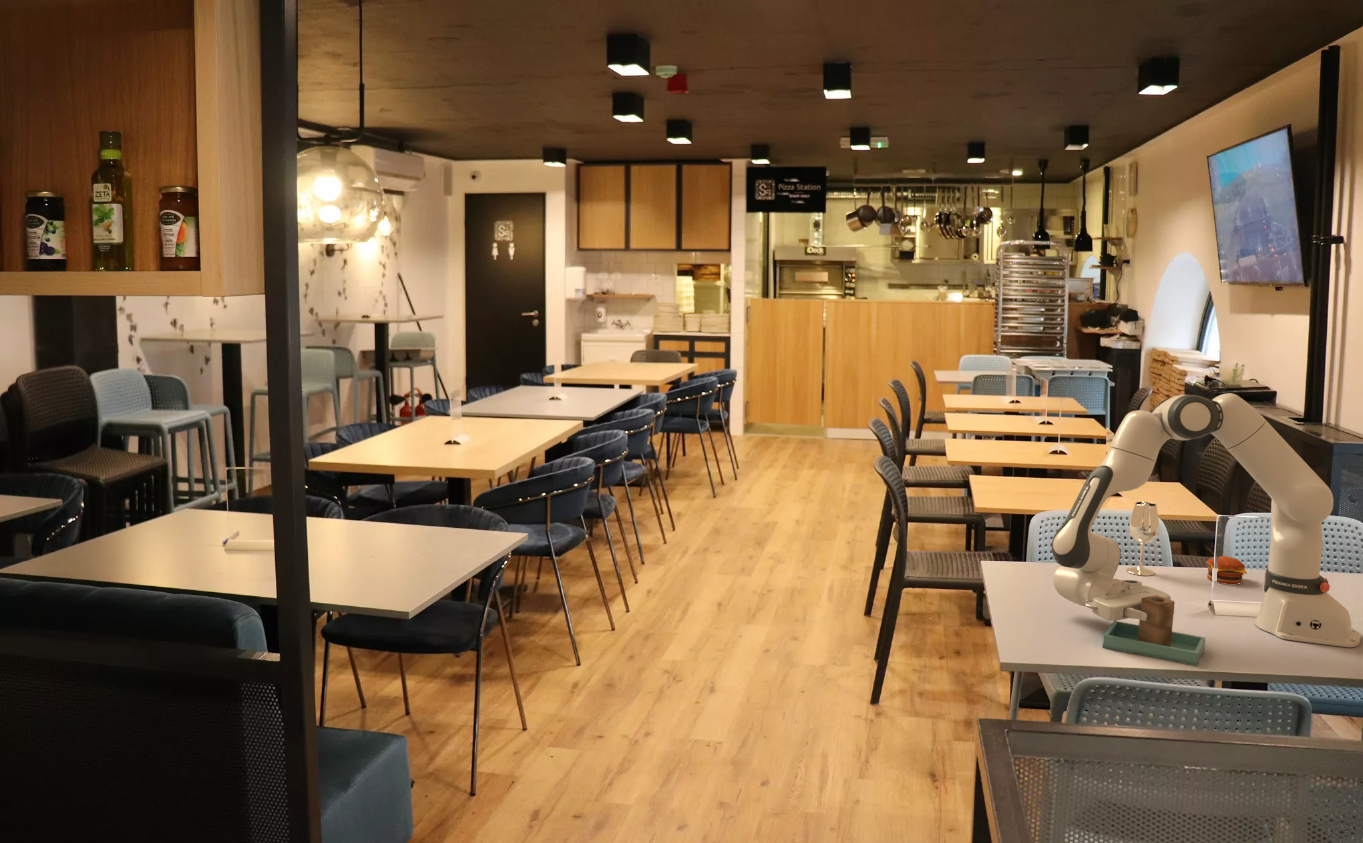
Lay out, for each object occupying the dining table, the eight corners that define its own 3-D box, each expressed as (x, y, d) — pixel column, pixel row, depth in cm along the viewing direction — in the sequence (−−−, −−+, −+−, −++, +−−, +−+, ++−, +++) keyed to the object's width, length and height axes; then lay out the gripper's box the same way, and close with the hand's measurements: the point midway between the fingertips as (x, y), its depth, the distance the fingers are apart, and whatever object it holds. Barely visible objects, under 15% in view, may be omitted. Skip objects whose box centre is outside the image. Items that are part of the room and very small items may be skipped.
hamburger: (1237, 576, 318) (1240, 554, 316) (1246, 586, 308) (1249, 563, 307) (1201, 573, 320) (1204, 551, 318) (1210, 583, 310) (1212, 560, 309)
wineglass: (1119, 569, 322) (1125, 502, 319) (1139, 567, 325) (1145, 499, 322) (1140, 577, 315) (1146, 508, 312) (1161, 574, 318) (1167, 505, 315)
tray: (1204, 650, 259) (1205, 637, 258) (1196, 666, 249) (1197, 653, 248) (1113, 632, 269) (1114, 620, 269) (1102, 647, 259) (1103, 635, 259)
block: (1152, 640, 262) (1156, 594, 260) (1170, 647, 258) (1174, 600, 256) (1137, 643, 260) (1141, 597, 258) (1155, 650, 255) (1159, 603, 254)
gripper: (1081, 590, 263) (1129, 607, 251) (1141, 579, 273) (1190, 595, 261) (1079, 616, 264) (1127, 634, 252) (1139, 604, 274) (1188, 621, 262)
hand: (1159, 614), depth 257 cm, fingers open, 7 cm apart
